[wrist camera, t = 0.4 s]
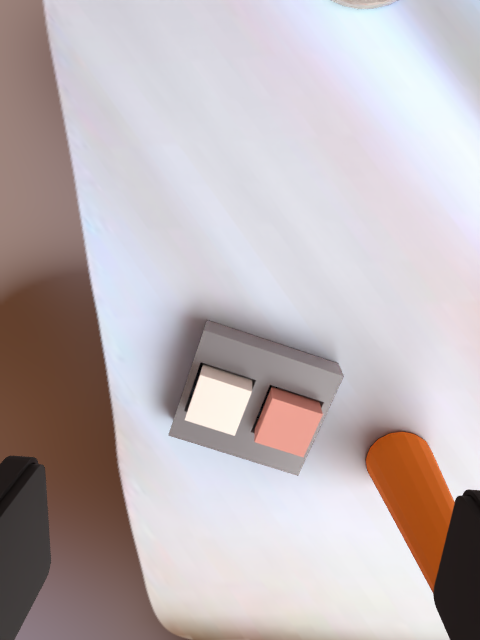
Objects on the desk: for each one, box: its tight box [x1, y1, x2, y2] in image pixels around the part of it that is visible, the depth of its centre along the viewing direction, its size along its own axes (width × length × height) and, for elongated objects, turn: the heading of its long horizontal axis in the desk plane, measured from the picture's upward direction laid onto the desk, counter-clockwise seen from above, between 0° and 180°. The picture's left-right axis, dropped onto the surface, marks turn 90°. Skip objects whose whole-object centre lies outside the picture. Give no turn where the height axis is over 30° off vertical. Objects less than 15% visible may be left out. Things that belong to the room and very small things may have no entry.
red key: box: [254, 387, 323, 457], centre depth 44 cm, size 5×5×2 cm
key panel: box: [169, 320, 344, 476], centre depth 46 cm, size 12×14×3 cm
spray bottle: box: [366, 432, 455, 594], centre depth 37 cm, size 7×11×26 cm, turn 179°
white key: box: [185, 364, 252, 436], centre depth 43 cm, size 5×5×2 cm
